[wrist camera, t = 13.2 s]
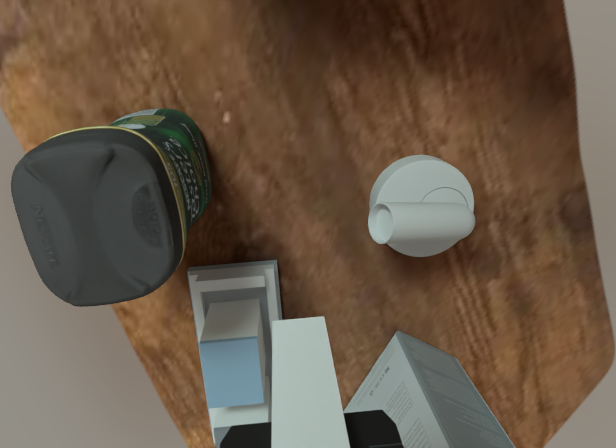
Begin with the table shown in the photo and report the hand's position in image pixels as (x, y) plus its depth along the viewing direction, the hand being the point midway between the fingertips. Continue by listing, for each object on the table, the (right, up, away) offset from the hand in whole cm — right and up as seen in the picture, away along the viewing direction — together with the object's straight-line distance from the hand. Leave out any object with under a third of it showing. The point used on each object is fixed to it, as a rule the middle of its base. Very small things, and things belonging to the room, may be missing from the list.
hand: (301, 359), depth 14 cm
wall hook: (+9, +6, +30) cm, 32 cm away
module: (-6, -6, +31) cm, 32 cm away
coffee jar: (-12, +9, +27) cm, 31 cm away
